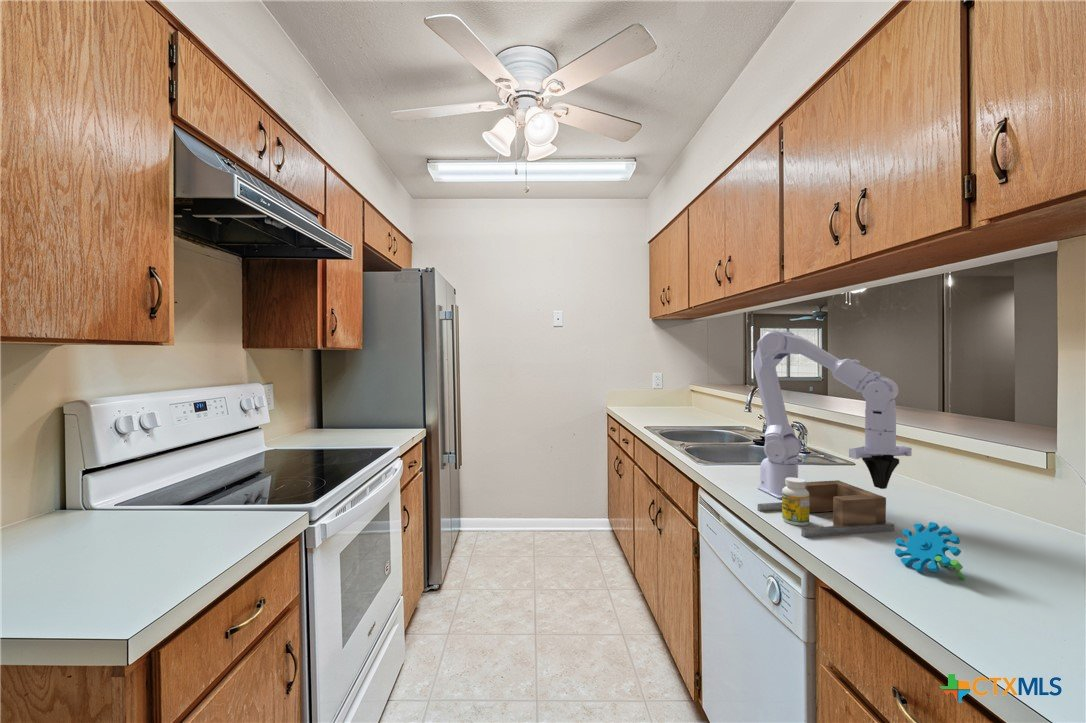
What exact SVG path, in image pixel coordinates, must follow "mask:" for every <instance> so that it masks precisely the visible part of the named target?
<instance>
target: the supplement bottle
mask: <svg viewBox="0 0 1086 723" xmlns="http://www.w3.org/2000/svg"><path fill="white" fill-rule="evenodd" d="M806 482H807V481H806V480H805V479H803V478H800V477H798V478H793V477H789V478H786V479H785V484H786V487H784V488H783V489H782V499H781V502H782V510H781V511H782V512H781V515H782V520H783V521H784V522H785V523H787V524H789V525H794V526H798V527H799V526H802V527H803V526H808V525H809V523H810V512H809V492H808V491H807V490H806V489H804V488H805V486H806Z"/></svg>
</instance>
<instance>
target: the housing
mask: <svg viewBox="0 0 1086 723" xmlns="http://www.w3.org/2000/svg"><path fill="white" fill-rule="evenodd" d="M804 489H806V490H807V491H808V492H809V513H822V512H832V514H833V515H832V518H833V519H832V520H833V521H832V523H833V524H832V526H842V525H857V524H871V523H885V522H887V497H885V496H882V495H879V494H877V493H873V492H871V491H869V490H866V489H863V488H860V487H858V486H855V485H853V484H849V483H846V482H844V481H841V480H837V479H836V480H821V481H820V480H819V481H806V486H805V488H804Z"/></svg>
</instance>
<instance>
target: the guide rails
mask: <svg viewBox="0 0 1086 723" xmlns="http://www.w3.org/2000/svg"><path fill="white" fill-rule="evenodd" d="M757 511H759V512H773V511H782V501H781V502H780V501H779V502H766V503H757ZM800 530H801V532H800V533H801V536H802V537H803V538H813V537H815V538H816V537H828V536H829V537H830V536H840V535H842V536H843V535H854V534H870V533H883V532H884V533H885V532H894V531H895V523H893V522H890V521H889V522H887V521H886V522H885V523H871V524H857V525H842V526H833V525H830V526H829V525H828V526H816V527H801V529H800Z"/></svg>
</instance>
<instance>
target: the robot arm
mask: <svg viewBox="0 0 1086 723" xmlns="http://www.w3.org/2000/svg"><path fill="white" fill-rule="evenodd" d="M756 345H757V349H756V351H755V355H754V359H753V363H752V364H753V370H754V374H755V379H756V383H757V387H758V392H759V397H760V400H761V405H762V409H763V413H764V418H765V422H766V430H765V433H764V445H763V451H764V454H765V456H766V457H765V458H763V459H762V461H761V463H760V466H759V467H760V468H759V471H760V472H759V478H760V480H759V485H757V486H756V487H757V489H759V490H761V491H763V492H765V493H767V494H769V495H771V496H773V497H775V498H777V499H781V500H782V489H783V488H784V487H786V484H785V479H786V478H789V477H793V478H799V459H798V456H799V455H800V453H801V452H802V449H803V448H802V447H803V446H802V442H801V441H800V439H799V438H798V437H797V435H796V433H795V429H794V428H793V427H792V425H790V423H789V420H788V419H789V418H788V415H787V410H786V405H785V402H784V398H783V397H784V396H783V394H782V390H781V384H780V382H779V377H778V372H777V366H778V365H779V364H780V363H781V361H783V359H785V358H786V357H787V356H790V355H791V354H795V355H802V356H803V357H805V358H808V359H809V360H811V361H813V362H815V363H816V364H819V365H820V366H823V367H824V368H826V369H828V370H830V371H831V374H832V377H833V379H834V380H836V381H838V382H840V383H842V384H844V385H846V386H847V387H848V388H850V389H852V390H853V391H855V392H857V393H861V396H862V397H863V399H864V400H865V410H864V416H865V417H864V421H865V422H864V423H865V424H864V438H865V439H864V446H859V447H855V448H848V457H849V458H852V459H855V460H857V459H862V461H863V463H864V464H865V466H866V467H867V469H868V472H869V474H870V476H871V479H872V484H873V487H875V488H877V489H880V490H885V489H887V488H888V485H889V482H890V479H891V476H892V474H893V472H894V471H895V470H896V468H897V467H898V465H900V459H899V458H897V457H899V456H900V457H901V456H904V457H912V454H913V453H912V447H909V446H904V445H903V446H901V445H899V446H898V445H897V409H896V406H897V405H896V404H897V403H896V399H895V398H896V397H897V396H898V395H899V393H900V392H899V386H898V384H897V383H896V382H895V381H894V380H893V379H892V378H890V377H888V376H881V373H880V372H879V371H872V370H871V369H869V368H867V367H866V366H864V365H862V364H861V361H860V360H858V359H855V358H854V359H850V358H845V359H840V358H838V357H836V356H835V355H833V354H832V353H829V352H828V351H826V350H825V349H823V348H821V347H820V346H818V345H816V344H814V343H813V342H812V341H810V340H808V339H806V338H804V337H803V336H800V335H798V334H795V333H793V332H791V331H783V330H782V331H781V330H780V331H778V330H769V331H766V332H764V334H763V335H761V337H760V338H759V340H758V341H757V342H756Z"/></svg>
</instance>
